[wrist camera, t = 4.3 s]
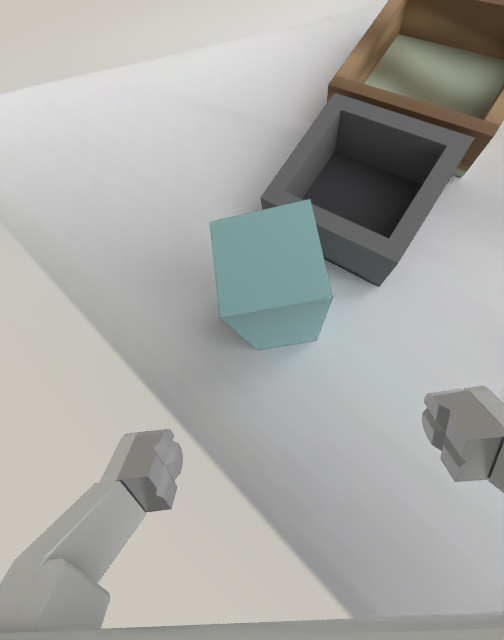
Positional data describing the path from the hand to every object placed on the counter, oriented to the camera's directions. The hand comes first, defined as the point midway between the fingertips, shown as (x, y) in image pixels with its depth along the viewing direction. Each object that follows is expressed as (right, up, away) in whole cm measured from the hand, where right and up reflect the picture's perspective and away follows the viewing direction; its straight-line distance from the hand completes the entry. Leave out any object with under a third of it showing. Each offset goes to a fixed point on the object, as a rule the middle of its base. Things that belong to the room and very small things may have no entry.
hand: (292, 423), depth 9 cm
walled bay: (+13, +22, +15) cm, 30 cm away
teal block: (+1, +4, +12) cm, 13 cm away
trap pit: (+7, +13, +13) cm, 19 cm away
